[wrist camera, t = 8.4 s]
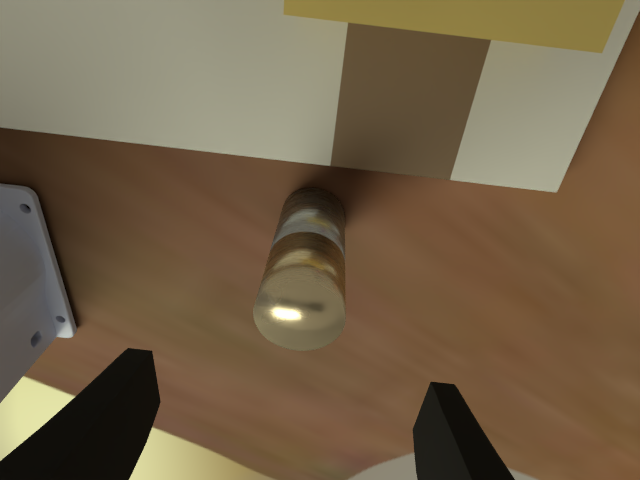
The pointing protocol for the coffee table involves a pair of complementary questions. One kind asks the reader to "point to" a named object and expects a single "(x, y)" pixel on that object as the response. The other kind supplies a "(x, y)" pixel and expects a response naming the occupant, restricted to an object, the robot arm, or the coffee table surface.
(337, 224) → the banded metal canister
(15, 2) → the subfloor board
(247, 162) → the coffee table surface
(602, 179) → the coffee table surface
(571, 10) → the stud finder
